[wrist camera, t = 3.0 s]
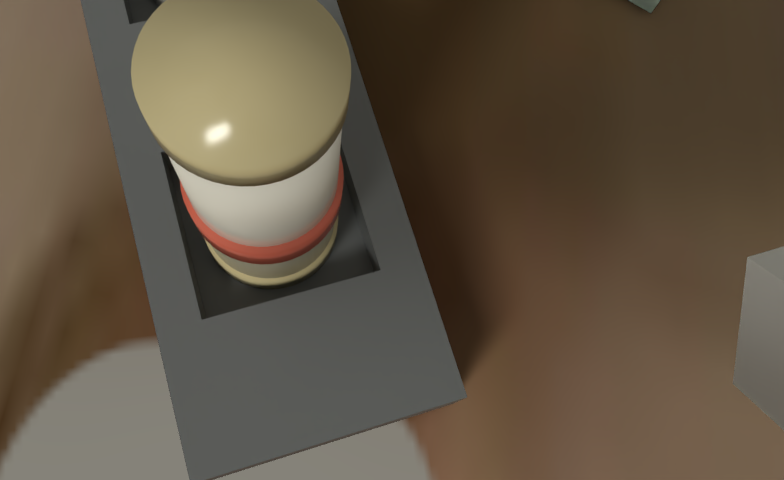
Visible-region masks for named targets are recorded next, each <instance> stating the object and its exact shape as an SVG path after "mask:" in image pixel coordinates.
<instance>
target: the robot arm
mask: <svg viewBox="0 0 784 480" xmlns="http://www.w3.org/2000/svg"><path fill="white" fill-rule="evenodd" d="M733 384H734V385H735V386H736V387H737V388H738V389H739V390H740V391H741V392H743V393H744V394H745V395H746V396H747V397H748V398H749V399H750V400H751V401H752V402H753V403H755V404H756V405H757V406H758V407H759V408H760V409H761V410H762V411H763V412H764V413H765V414H767V415H768V416H769V417H770V418H771V419H772V420H773V421H774V422H775V423H776V424H777V425H779V426H780V427H781V428H782V429H783V430H784V247H780V248H777V249H773V250H770V251H767V252H763V253H760V254H756V255H753V256H750V257H747V266H746V274H745V283H744V292H743V300H742V309H741V318H740V326H739V335H738V344H737V352H736V361H735V370H734V378H733Z"/></svg>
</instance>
